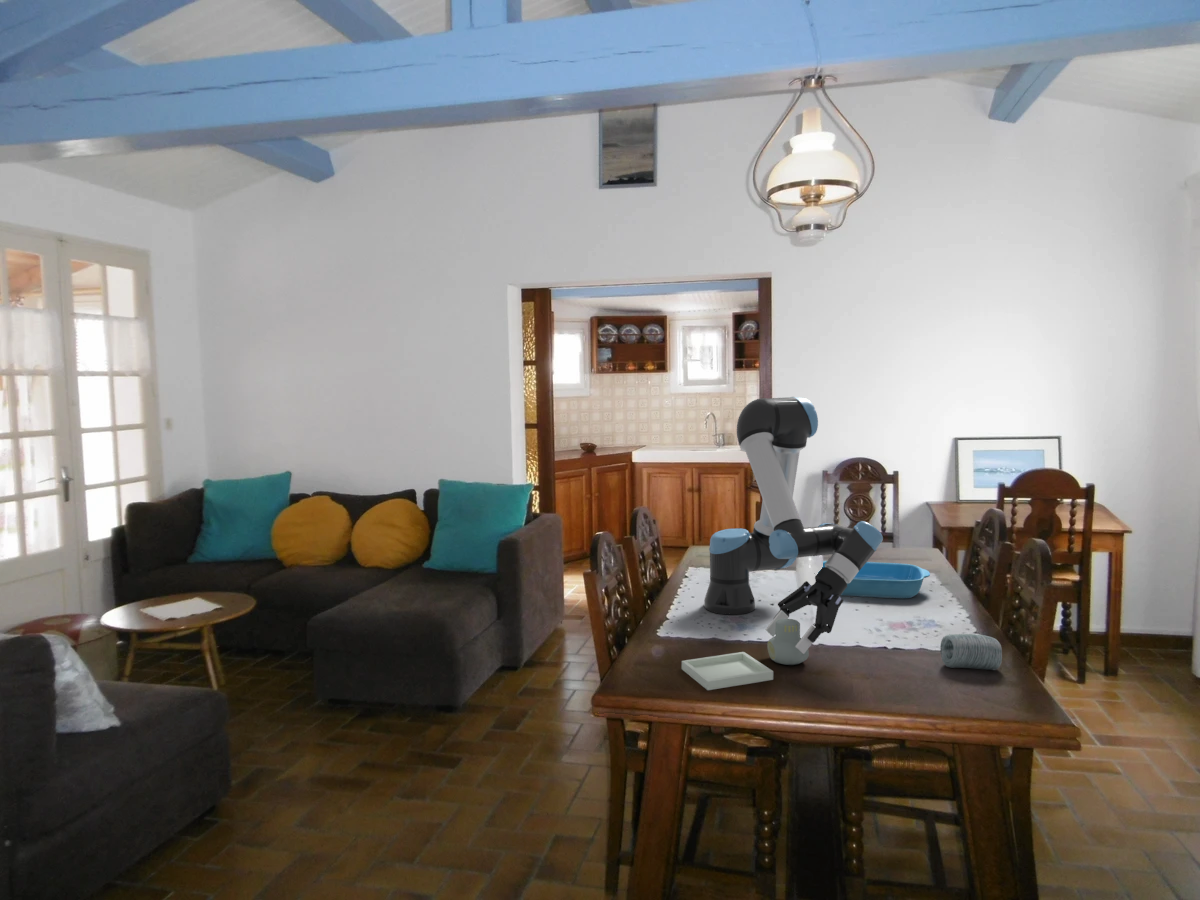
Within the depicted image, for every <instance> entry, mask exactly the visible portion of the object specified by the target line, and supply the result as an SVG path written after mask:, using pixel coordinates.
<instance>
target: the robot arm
mask: <svg viewBox="0 0 1200 900" xmlns="http://www.w3.org/2000/svg"><path fill="white" fill-rule="evenodd" d="M813 404H814V403H812V401H810V400H809V399H808V398H805V397H795V396H790V397H772V398H771V397H770V398H768V397H767V398H766V397H764V398H763V397H761V398H757V399H754V400H752V401H750V402H749V403H747V404H746V405H745V406H744V408H743V409H742V410H741V412H740V414H739V416H738V418H737V424H736V438H737V442H738V444H739V445H738V446H739V448H740V450H741V451H742V452H744V453H746V456H747V459H748V462H749V464H750V468H751V470H752V473H753V476H754V479H755V482H756V485H757V486H758V490H759V492H760V496H761V498H762V503H761V509H760V516H759V519H758V520H757V521H756V522H754V525H753V530H752V532H749V530H747V529H746V528H741V527H739V528H738V527H737V528H726V529H721V530H719V531H716V532H714V533H713V534H712V535H711V537H710V539H709V549H708V550H709V585H708V588H707V590H706V594H705V597H704V602H703V607H704V609H705V610H707V612H708V611H709V612H711V613H715V614H719V615H744V614H749V613H751V612H754V611H755V609H756V600H755V597H754V594H753V591H752V587H751V584H750V572H761V571H768V570H775V571H777V570H781V569H786V568H789V567H790V566H792V565H793V564H794V562H795V561H796V560H797V559H799V558H806V557H819V556H827V555H828V556H829V555H831V556H830V557H829V558H828V560H826V561H827V562H826V563H825V567H822V569H821V570H820V571H819V572H818V574H817V575H816V574H815V577H814V579H815V582H814V583H813V584H811V583H810V582H809V581H807V580H806V581H804V582H803V583H802V584H801V585H800V586H799V587H798V588H796V589H795V590H794V591H793V592H791V593H790V594H788V595H787V596H786V597H785V598H782V600H780V601H779V602H778V603H777V606H778V608H779V610H778V612H777V613H776V615H775V616H774V617H773V619H772V620H771V622H770V623H769V624H768V626H767V627H766V628H765V632H767V633H768V634H769V635H770V636H771V637H772V638H773V637H775V636H776V621H777V620H779V619H790V614H792V613H794V612H797V611H799V610H800V609H802V608H804V607H806V606H814V607H816V614H815V622H814V623H812V625H811V626H810V627H809V628H808V629H807V631H806V632H805V634H804V635H803V636H802V637H800V638H801V640H800V641H799V642H798V643H797V645H796V646H795V647H796V648H797V649H798V650H799V651H800V652H801V653H803V654H804V653H805V652H806V651H807V649H808V650H809V648H810V647H811V646H812V644H813V643H814V642H816V641H817V639H818V638H819V637H820V636H821V634H824V633H827V634H831V632H832V630H833V627H834V624H835V621H836V618H837V615H838V611H839V608H840V607H841V605H842V603H844V600H843V598H842V597H841V596H842V595H841V594H842V593H843V591H844V590H845V589H846V588H847V583H850V582H851V581H852V580H853V578H854V577H855V576H856V574H857V573H858V572H859V571H860V569H861V568H862V567H863V566H864V565H865V563H866V562H869V560H870V559H871V557H872V556H873V555H874V554H875V552H877V549H878V548H879V546H880V545H881V544H882V542H883V539H884V537H883V535H882V532H880V530H879V529H878V528H877V527H875V526H874V525H872V524H870V523H869V522H867V521H863V520H860V521H858V522H857V523H856V524H855V525H853V528H852V527H851V528H850V527H846V526H843V525H839V524H836V523H833V522H832V523H829V522H823V523H820V524H819V525H818V526H812V527H811V526H810V527H809V526H808V527H804V525H803V522H802V520H801V517H800V515H799V512H798V509H797V506H796V504H795V501H794V490H795V484H796V478H797V471H798V464H799V457H800V451H801V450H803V449H805V448H806V446H807V440H808V438H809V439H810V438H812V437H813V436H815V434H816V433H817V432H818V428H819V427H818V426H819V419H818V414H817V413H818V412H817V410H816V408H815V406H814V405H813Z"/></svg>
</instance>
